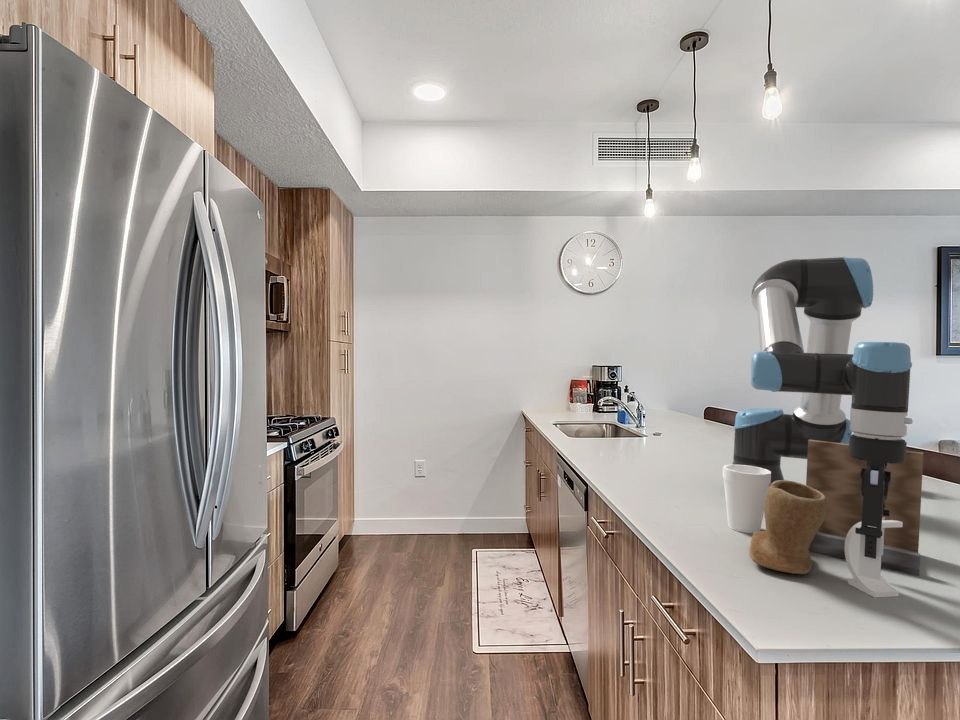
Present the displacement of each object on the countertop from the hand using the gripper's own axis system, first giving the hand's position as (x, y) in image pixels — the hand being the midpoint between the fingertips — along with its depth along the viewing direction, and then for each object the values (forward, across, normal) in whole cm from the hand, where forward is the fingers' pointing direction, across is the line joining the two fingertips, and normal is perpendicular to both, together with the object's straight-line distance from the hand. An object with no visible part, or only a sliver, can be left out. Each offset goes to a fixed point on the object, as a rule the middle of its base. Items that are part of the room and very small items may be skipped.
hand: (871, 564), depth 87 cm
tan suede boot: (+4, +2, +13) cm, 14 cm away
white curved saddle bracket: (+4, 0, 0) cm, 4 cm away
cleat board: (+4, +19, +3) cm, 20 cm away
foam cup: (+4, +18, +23) cm, 30 cm away
